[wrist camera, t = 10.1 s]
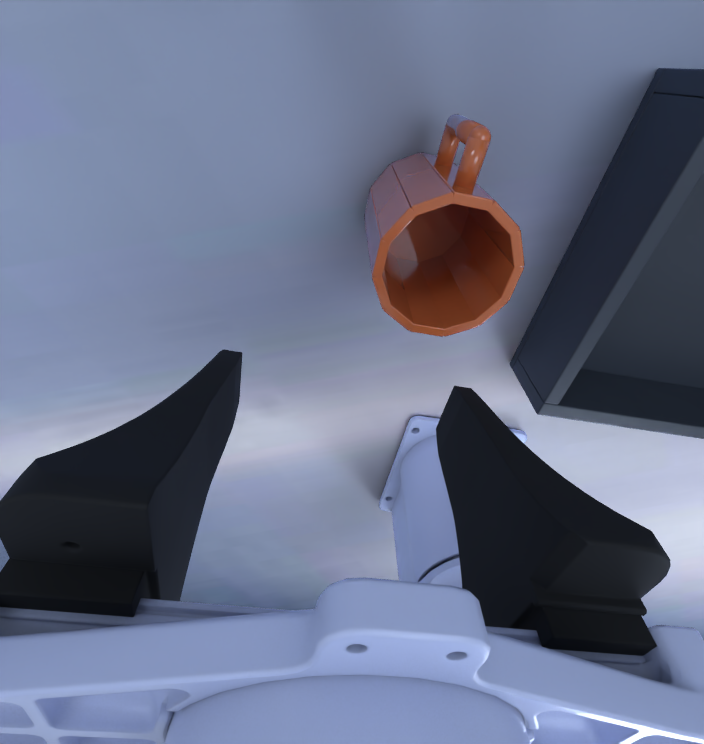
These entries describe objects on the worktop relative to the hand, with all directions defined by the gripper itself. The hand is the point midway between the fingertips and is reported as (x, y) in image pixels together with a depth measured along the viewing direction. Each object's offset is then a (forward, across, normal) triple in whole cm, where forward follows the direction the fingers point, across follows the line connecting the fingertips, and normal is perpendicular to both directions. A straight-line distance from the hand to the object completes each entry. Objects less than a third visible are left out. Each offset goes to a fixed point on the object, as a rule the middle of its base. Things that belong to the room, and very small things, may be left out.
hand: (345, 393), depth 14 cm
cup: (+9, -3, -4) cm, 11 cm away
